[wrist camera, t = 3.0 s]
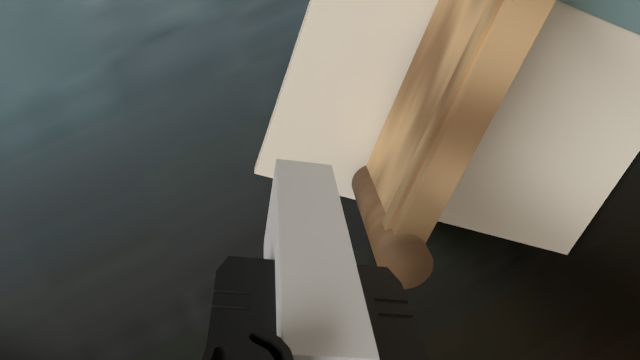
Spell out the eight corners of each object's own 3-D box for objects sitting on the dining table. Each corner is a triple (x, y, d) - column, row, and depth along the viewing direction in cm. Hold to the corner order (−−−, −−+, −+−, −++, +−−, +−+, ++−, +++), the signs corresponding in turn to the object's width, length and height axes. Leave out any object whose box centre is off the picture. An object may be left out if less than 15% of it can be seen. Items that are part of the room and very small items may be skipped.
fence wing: (473, -103, 21) (566, -106, 14) (518, -83, 21) (626, -77, 15) (345, 194, 27) (371, 283, 21) (382, 204, 28) (419, 293, 21)
